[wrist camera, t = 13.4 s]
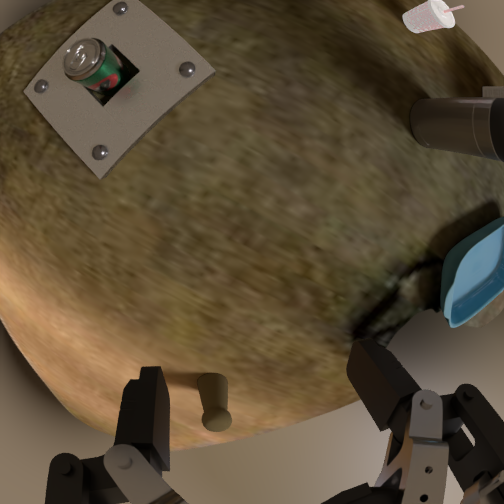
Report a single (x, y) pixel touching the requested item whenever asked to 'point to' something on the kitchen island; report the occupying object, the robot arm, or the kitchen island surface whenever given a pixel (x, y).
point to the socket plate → (128, 97)
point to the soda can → (95, 66)
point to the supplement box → (493, 91)
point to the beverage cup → (430, 16)
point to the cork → (214, 401)
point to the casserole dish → (473, 273)
